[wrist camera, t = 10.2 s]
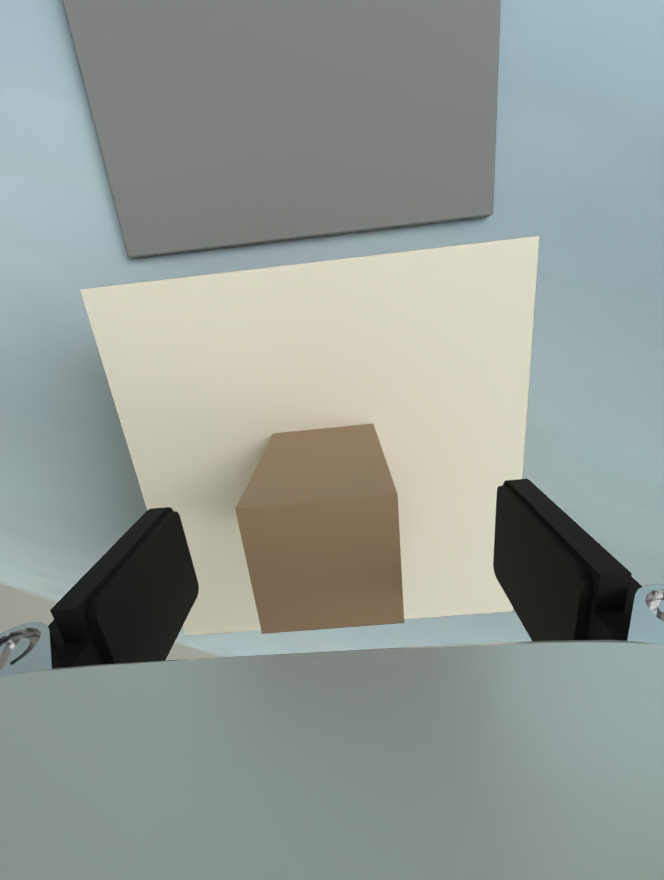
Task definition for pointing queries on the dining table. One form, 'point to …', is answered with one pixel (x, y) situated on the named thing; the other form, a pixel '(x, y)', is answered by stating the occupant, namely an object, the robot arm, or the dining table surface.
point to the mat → (289, 115)
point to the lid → (329, 428)
